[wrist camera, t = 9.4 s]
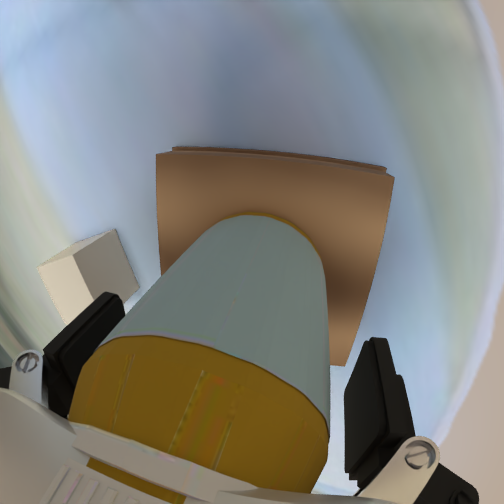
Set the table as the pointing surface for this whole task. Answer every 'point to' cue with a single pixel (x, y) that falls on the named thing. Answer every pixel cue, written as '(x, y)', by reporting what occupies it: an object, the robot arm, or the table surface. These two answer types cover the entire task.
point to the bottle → (210, 377)
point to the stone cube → (88, 274)
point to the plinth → (283, 214)
